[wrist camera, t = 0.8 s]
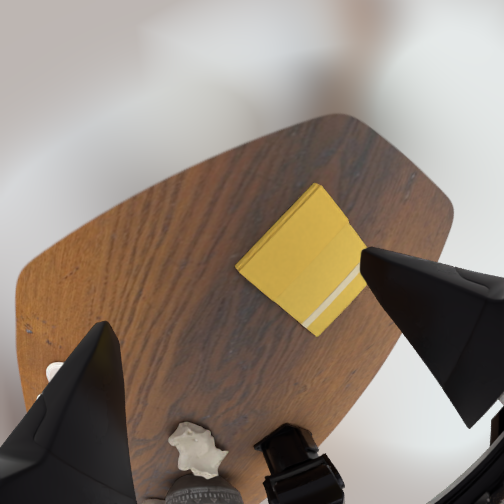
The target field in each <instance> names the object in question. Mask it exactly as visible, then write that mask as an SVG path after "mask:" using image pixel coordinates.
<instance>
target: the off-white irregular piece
mask: <svg viewBox="0 0 504 504" xmlns="http://www.w3.org/2000/svg"><path fill="white" fill-rule="evenodd" d="M168 441H169V443H170V444H171V445H172V446H176V448H177V449H178V451H179V453H180V456H179V459H178V468H179V469H180V470H188V469H191V471H192V472H193V473H194V475H196V476H203V477H205V478H206V479H210V478H213V477H215V476H218V475H219V474H218V467H219V465H220V463H221V461H223V459H224V457H225V456H226V454H227V453H228V452H229V451H223V452H222V451H221V450H220V449H217V448H216V447H215V443H214V437H212V436H211V431H209V430H206V429H204V428H202V427H201V426H197V425H196V424H193V423H189V422H184V423H179V426H178V427H177V429H176V431H175V432H174V433H173V434H172V435H171V436H170V437H169V439H168Z"/></svg>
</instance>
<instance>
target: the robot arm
mask: <svg viewBox="0 0 504 504" xmlns="http://www.w3.org/2000/svg"><path fill="white" fill-rule="evenodd" d="M360 273H361V276H362V277H363V279H364V280H365V282H366V283H367V285H368V286H369V288H370V289H371V291H372V292H373V294H374V295H375V297H376V299H377V300H378V302H379V303H380V305H381V306H382V307H383V309H384V310H385V311H386V312H387V314H388V315H389V316H390V318H391V319H392V320H393V321H394V323H395V324H396V325H397V327H398V328H399V329H400V330H401V332H402V333H403V334H404V336H405V337H406V338H407V340H408V341H409V342H410V344H411V345H412V346H413V348H414V349H415V350H416V352H417V353H418V355H419V356H420V357H421V359H422V360H423V361H424V363H425V364H426V365H427V367H428V368H429V370H430V371H431V373H432V374H433V376H434V377H435V378H436V380H437V381H438V383H439V384H440V386H441V387H442V389H443V390H444V392H445V393H446V395H447V396H448V398H449V399H450V401H451V402H452V404H453V406H454V407H455V409H456V410H457V412H458V413H459V415H460V416H461V418H462V419H463V421H464V423H465V424H466V426H467V427H468V428H469V429H470V428H471V427H472V426H473V425H474V424H475V423H476V422H477V421H478V420H479V419H480V418H481V417H482V416H483V415H484V414H485V413H486V412H487V411H488V410H489V409H490V408H491V407H492V406H493V404H494V403H495V402H496V401H497V400H499V401H500V402H501V403H502V404H503V405H504V278H502V277H497V276H493V275H488V274H483V273H478V272H474V271H469V270H466V269H462V268H458V267H453V266H450V265H446V264H442V263H438V262H434V261H430V260H426V259H422V258H418V257H414V256H409V255H405V254H401V253H397V252H393V251H388V250H384V249H380V248H375V247H368V248H365V249H363V250H362V251H361V256H360ZM254 449H255V450H258V451H262V452H263V455H264V458H265V460H266V463H267V465H268V468H269V471H270V473H271V475H270V476H265V481H264V482H263V485H264V487H265V490H266V493H267V498H268V503H269V504H345V497H344V492H343V490H342V489H343V488H345V485H344V482H343V480H342V478H341V476H340V474H339V473H338V471H337V469H336V468H335V467H334V465H333V464H332V462H331V461H330V459H329V458H328V456H327V455H326V453H325V454H323V455H322V456H318V454H317V452H318V451H319V449H318V447H317V445H316V443H315V442H314V440H313V438H312V433H311V432H309V431H308V430H305V429H302V428H300V427H296V426H293V425H290V424H284V425H282V426H281V427H280V428H278V429H277V430H276V431H274V432H273V433H272V434H270V435H269V436H267V437H266V438H265V439H263V440H262V441H260V442H259V443H257V444H256V445H255V446H254ZM0 504H137V501H136V496H135V491H134V485H133V479H132V472H131V465H130V457H129V448H128V438H127V427H126V412H125V389H124V378H123V370H122V361H121V352H120V344H119V340H118V338H117V336H116V334H115V333H114V331H113V329H112V327H111V326H110V324H109V323H108V322H107V321H102V322H98V323H96V324H95V325H94V326H93V327H92V328H91V330H90V331H89V332H88V333H87V334H86V336H85V337H84V338H83V339H82V341H81V342H80V343H79V344H78V346H77V347H76V348H75V349H74V351H73V352H72V353H71V354H70V356H69V357H68V358H67V360H66V361H65V362H64V363H63V365H62V366H61V367H60V369H59V370H58V371H57V373H56V374H55V375H54V377H53V378H52V379H51V381H50V382H49V383H48V385H47V386H46V387H45V389H44V390H43V392H42V394H40V396H39V397H38V399H37V400H36V401H35V403H34V404H33V406H32V407H31V408H30V410H29V411H28V412H27V414H26V415H25V416H24V418H23V419H22V420H21V422H20V423H19V424H18V426H17V427H16V428H15V429H14V430H13V432H12V433H11V434H10V435H9V437H8V438H7V439H6V441H5V442H4V443H3V445H2V446H1V447H0ZM427 504H504V406H503V407H502V408H501V409H500V410H499V412H498V413H497V414H496V415H495V416H494V417H493V418H492V420H491V437H490V447H489V449H487V451H486V452H485V453H484V454H483V455H482V456H481V457H480V458H479V459H478V460H477V461H476V462H475V463H474V464H473V465H472V466H471V467H470V468H468V469H467V470H466V471H465V472H464V473H463V474H462V475H461V476H460V477H459V478H458V479H457V480H455V481H454V482H453V483H452V484H451V485H450V486H448V487H447V488H446V489H445V490H443V491H442V492H441V493H440V494H438V495H437V496H436V497H435V498H433V499H432V500H431V501H429V502H428V503H427Z"/></svg>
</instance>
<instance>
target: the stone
mask: <svg viewBox="0 0 504 504" xmlns="http://www.w3.org/2000/svg"><path fill="white" fill-rule="evenodd" d="M142 504H166V501H165V500H158V499H148V500H146V501H144V502H143V503H142Z"/></svg>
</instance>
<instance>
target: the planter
mask: <svg viewBox="0 0 504 504" xmlns="http://www.w3.org/2000/svg"><path fill="white" fill-rule="evenodd" d="M165 501H166V504H244V503H243V500H242V497H241V494H240V492H239V491H238V490H237V489H236V488H234V487H233V486H232V485H231V484H230V483H229V482H227V481H226V480H225V479H223V478H222V477H220V476H215V477H213V478H210V479H206V478H205V477H203V476H196V475H194V474H191V475H186V476H183V477H181V478H179V479H177V480H176V482H175V483H174V484H173V486H172V487H171V489H170V490H169V492H168V493H167V495H166V498H165Z"/></svg>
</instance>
